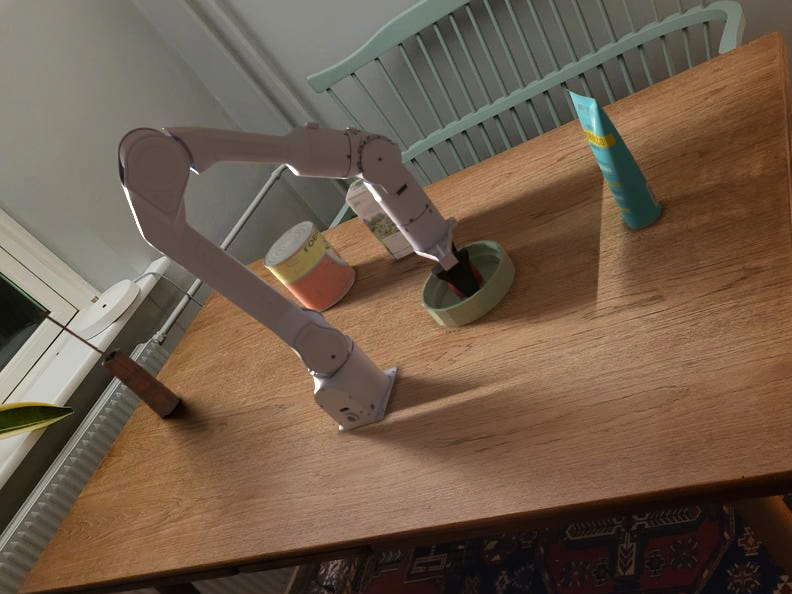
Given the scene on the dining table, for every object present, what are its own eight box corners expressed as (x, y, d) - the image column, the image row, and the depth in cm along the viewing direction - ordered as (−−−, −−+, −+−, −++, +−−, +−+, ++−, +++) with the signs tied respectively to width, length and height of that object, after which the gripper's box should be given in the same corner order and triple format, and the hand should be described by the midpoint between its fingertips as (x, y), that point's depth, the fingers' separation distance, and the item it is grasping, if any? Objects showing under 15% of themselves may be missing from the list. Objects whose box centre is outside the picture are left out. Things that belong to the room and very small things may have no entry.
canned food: (360, 283, 126) (316, 234, 119) (311, 322, 127) (265, 275, 120) (350, 260, 135) (308, 213, 128) (304, 296, 136) (261, 251, 129)
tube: (615, 221, 96) (550, 102, 84) (642, 198, 96) (580, 75, 84) (647, 236, 90) (582, 110, 78) (676, 212, 90) (615, 82, 78)
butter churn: (200, 382, 137) (76, 282, 120) (174, 422, 132) (40, 323, 115) (174, 387, 142) (52, 292, 125) (148, 426, 137) (17, 332, 120)
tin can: (484, 296, 100) (461, 267, 97) (457, 306, 102) (434, 277, 99) (489, 275, 103) (467, 245, 100) (462, 285, 105) (440, 256, 102)
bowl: (511, 312, 95) (496, 292, 93) (427, 341, 102) (412, 322, 100) (522, 247, 104) (508, 227, 102) (445, 277, 111) (430, 259, 109)
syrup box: (427, 231, 125) (377, 166, 116) (422, 251, 121) (370, 186, 112) (401, 243, 127) (351, 181, 119) (396, 263, 123) (343, 200, 115)
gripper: (450, 211, 88) (505, 286, 96) (423, 176, 99) (474, 246, 107) (405, 245, 88) (463, 317, 96) (384, 207, 100) (437, 274, 108)
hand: (466, 282), depth 102 cm, fingers open, 7 cm apart
